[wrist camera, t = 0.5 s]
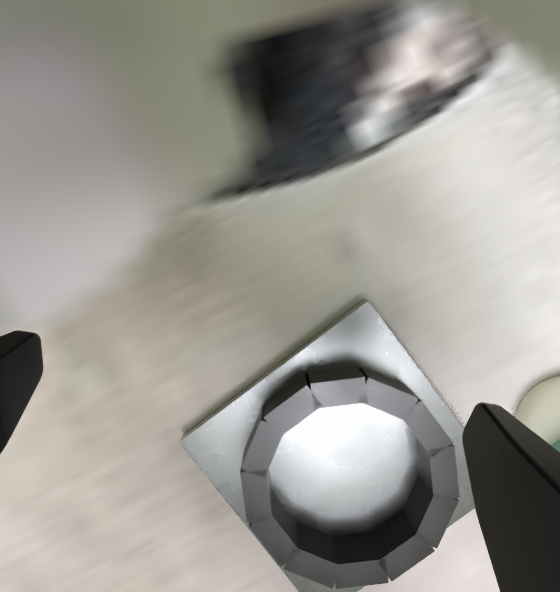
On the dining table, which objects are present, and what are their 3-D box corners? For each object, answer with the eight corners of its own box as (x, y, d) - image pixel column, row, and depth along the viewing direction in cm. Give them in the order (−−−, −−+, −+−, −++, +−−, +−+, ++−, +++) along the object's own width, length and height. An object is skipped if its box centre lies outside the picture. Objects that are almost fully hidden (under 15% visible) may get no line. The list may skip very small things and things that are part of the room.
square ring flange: (497, 476, 24) (529, 508, 21) (318, 603, 25) (324, 653, 22) (364, 299, 24) (377, 305, 20) (183, 434, 24) (168, 461, 21)
